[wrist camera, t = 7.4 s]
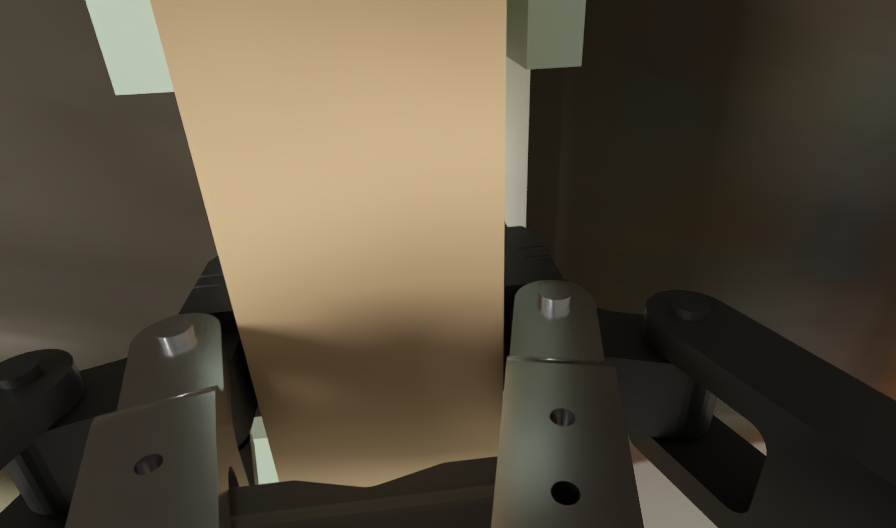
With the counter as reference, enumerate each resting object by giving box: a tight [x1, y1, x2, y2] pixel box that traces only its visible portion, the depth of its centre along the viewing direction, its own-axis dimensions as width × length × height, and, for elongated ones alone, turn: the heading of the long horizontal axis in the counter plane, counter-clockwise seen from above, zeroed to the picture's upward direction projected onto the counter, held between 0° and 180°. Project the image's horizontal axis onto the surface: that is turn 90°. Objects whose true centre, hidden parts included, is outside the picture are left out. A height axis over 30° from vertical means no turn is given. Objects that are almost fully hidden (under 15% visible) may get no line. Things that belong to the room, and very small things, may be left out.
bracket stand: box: [85, 0, 586, 484], centre depth 15 cm, size 21×10×9 cm, turn 2°
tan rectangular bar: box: [150, 0, 507, 487], centre depth 11 cm, size 17×4×4 cm, turn 2°
